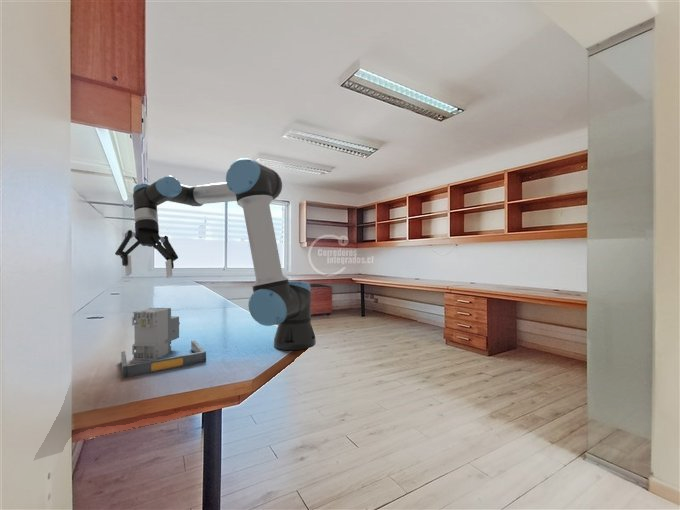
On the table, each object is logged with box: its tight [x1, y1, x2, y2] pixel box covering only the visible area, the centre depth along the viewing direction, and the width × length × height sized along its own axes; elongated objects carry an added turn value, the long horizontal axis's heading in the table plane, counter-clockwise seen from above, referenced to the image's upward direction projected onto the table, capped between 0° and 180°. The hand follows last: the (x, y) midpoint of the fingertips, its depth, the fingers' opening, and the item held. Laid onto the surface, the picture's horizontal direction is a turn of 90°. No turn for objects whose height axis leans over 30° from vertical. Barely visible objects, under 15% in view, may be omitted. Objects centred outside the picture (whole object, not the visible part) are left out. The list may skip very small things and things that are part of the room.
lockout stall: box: [120, 340, 207, 379], centre depth 96 cm, size 17×21×3 cm
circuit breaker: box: [131, 307, 181, 361], centre depth 105 cm, size 8×14×15 cm, turn 174°
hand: (150, 275), depth 110 cm, fingers open, 13 cm apart
